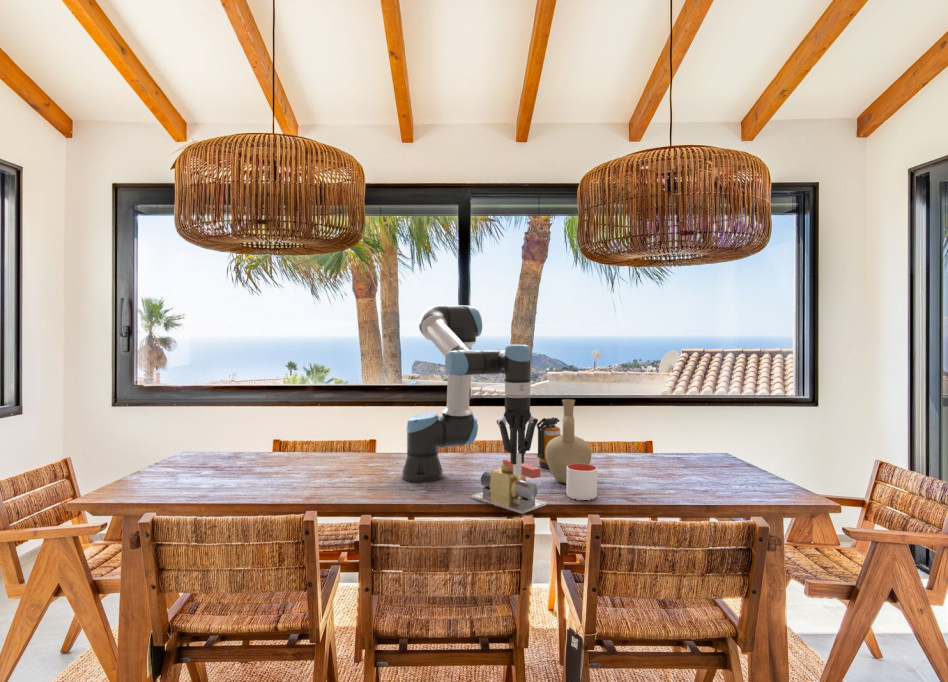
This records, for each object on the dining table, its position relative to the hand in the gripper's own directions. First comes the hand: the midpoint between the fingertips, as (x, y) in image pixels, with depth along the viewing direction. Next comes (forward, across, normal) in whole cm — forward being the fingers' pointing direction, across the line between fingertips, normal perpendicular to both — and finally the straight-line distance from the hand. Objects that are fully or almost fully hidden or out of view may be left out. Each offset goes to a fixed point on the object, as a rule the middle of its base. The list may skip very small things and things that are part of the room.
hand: (517, 474), depth 165 cm
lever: (+2, +4, +7) cm, 8 cm away
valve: (+12, +3, +13) cm, 18 cm away
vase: (+12, +33, +26) cm, 44 cm away
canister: (+12, +36, +48) cm, 61 cm away
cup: (+12, +28, +9) cm, 32 cm away
